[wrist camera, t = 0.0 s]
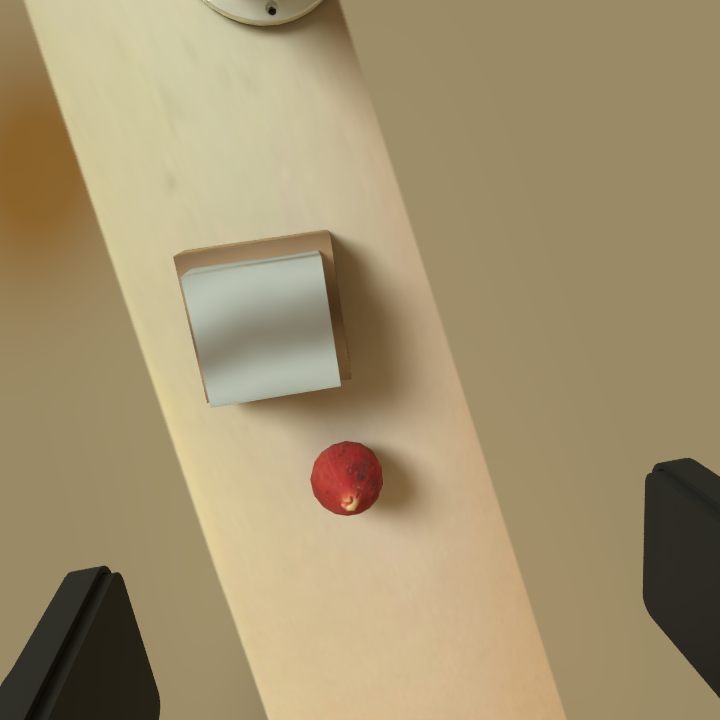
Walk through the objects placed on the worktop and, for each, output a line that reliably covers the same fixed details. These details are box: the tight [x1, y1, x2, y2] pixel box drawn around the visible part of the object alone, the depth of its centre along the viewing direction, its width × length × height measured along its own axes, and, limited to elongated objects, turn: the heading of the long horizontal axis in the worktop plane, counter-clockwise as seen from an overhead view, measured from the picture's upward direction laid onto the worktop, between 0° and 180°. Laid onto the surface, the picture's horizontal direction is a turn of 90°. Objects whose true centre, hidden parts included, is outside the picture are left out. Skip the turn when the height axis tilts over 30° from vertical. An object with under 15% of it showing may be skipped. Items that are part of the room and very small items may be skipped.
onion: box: [310, 441, 383, 516], centre depth 46 cm, size 6×6×8 cm
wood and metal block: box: [173, 230, 351, 408], centre depth 41 cm, size 11×11×8 cm
